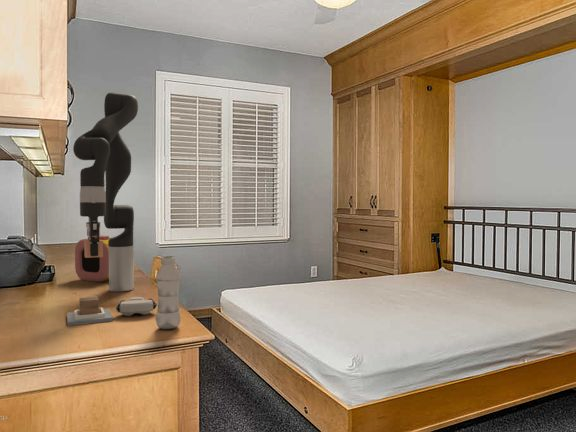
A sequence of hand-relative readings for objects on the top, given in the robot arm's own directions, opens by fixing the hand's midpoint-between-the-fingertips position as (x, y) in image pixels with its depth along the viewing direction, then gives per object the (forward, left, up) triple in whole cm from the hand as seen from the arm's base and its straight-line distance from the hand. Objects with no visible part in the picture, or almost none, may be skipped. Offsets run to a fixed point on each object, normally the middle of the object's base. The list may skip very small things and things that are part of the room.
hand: (93, 254), depth 146 cm
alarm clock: (-60, +6, -18) cm, 63 cm away
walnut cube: (+8, -2, -17) cm, 19 cm away
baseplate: (+8, -2, -18) cm, 20 cm away
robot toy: (+6, +12, -19) cm, 23 cm away
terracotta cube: (0, 0, 0) cm, 0 cm away
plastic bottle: (+29, +17, -18) cm, 38 cm away
